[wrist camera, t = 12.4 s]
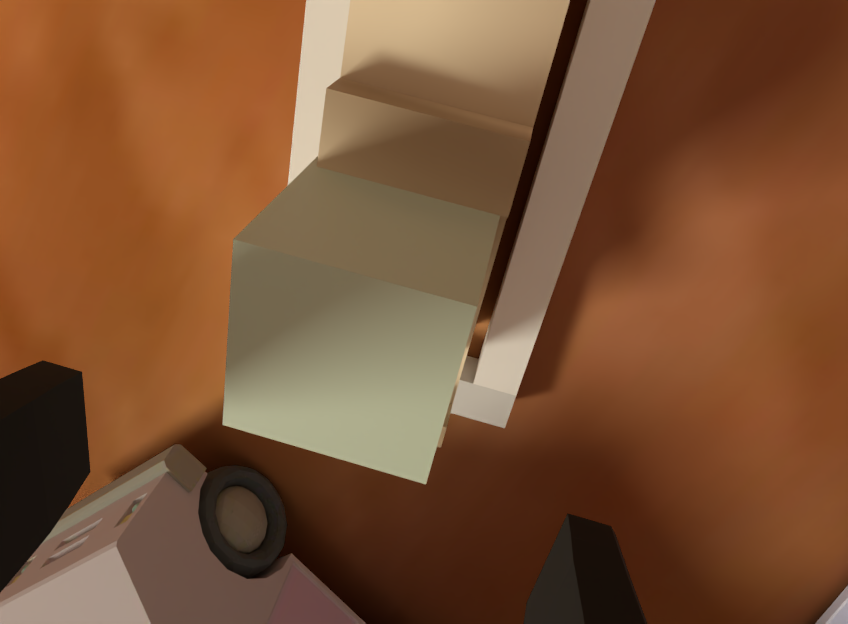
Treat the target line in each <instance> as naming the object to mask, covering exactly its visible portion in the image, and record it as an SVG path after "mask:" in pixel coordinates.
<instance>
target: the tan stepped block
mask: <svg viewBox="0 0 848 624" xmlns="http://www.w3.org/2000/svg"><path fill="white" fill-rule="evenodd" d="M569 3H570V0H350V7H349V15H348V22H347V30H346V38H345V45H344V53H343V60H342V68H341V76H340V78H339V79H338V80H336V81H335V82H334V83H332V84H331V85H330V86H329V87H327V88H326V95H325V103H324V111H323V119H322V128H321V136H320V144H319V152H318V161H317V167H321V168H324V169H328V170H332V171H335V172H339V173H343V174H347V175H350V176H354V177H358V178H362V179H365V180H369V181H373V182H376V183H380V184H384V185H388V186H391V187H395V188H399V189H402V190H406V191H410V192H414V193H417V194H421V195H425V196H429V197H432V198H436V199H440V200H443V201H447V202H451V203H455V204H458V205H462V206H466V207H470V208H473V209H477V210H481V211H485V212H488V213H492V214H496V215H500V219H499V222H498V226H497V230H496V234H495V238H494V242H493V246H492V250H491V254H490V258H489V262H488V266H487V270H486V274H485V278H484V282H483V286H482V290H481V294H480V298H479V302H478V306H477V310H476V313H475V316H474V320H473V323H472V327H471V330H470V334H469V337H468V341H467V344H466V348H465V351H464V355H463V358H462V361H461V365H460V368H459V372H458V375H457V379H456V382H455V386H454V389H453V393H452V396H451V399H450V403H449V406H448V410H447V413H446V417H445V420H444V424H443V427H442V431H441V434H440V437H439V441H438V444H437V447H440V448H441V446H442V442H443V439H444V435H445V432H446V428H447V425H448V421H449V417H450V413H451V409H452V405H453V401H454V398H455V394H456V391H457V387H458V384H459V381H460V377H461V374H462V370H463V367H464V363H465V360H466V356H467V353H468V350H469V346H470V343H471V339H472V336H473V332H474V329H475V326H476V322H477V319H478V315H479V312H480V308H481V305H482V301H483V298H484V295H485V291H486V288H487V284H488V281H489V277H490V274H491V271H492V267H493V264H494V260H495V257H496V253H497V250H498V246H499V243H500V240H501V236H502V233H503V229H504V226H505V222H506V219H507V218H508V216H509V213H510V209H511V206H512V202H513V199H514V196H515V192H516V189H517V185H518V182H519V178H520V175H521V172H522V168H523V165H524V161H525V158H526V154H527V151H528V148H529V144H530V141H531V136H532V131H533V126H534V123H535V119H536V116H537V112H538V109H539V106H540V102H541V99H542V95H543V92H544V88H545V85H546V82H547V78H548V75H549V71H550V68H551V64H552V61H553V57H554V54H555V51H556V47H557V44H558V40H559V37H560V33H561V30H562V27H563V23H564V20H565V16H566V13H567V9H568V6H569Z"/></svg>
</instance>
